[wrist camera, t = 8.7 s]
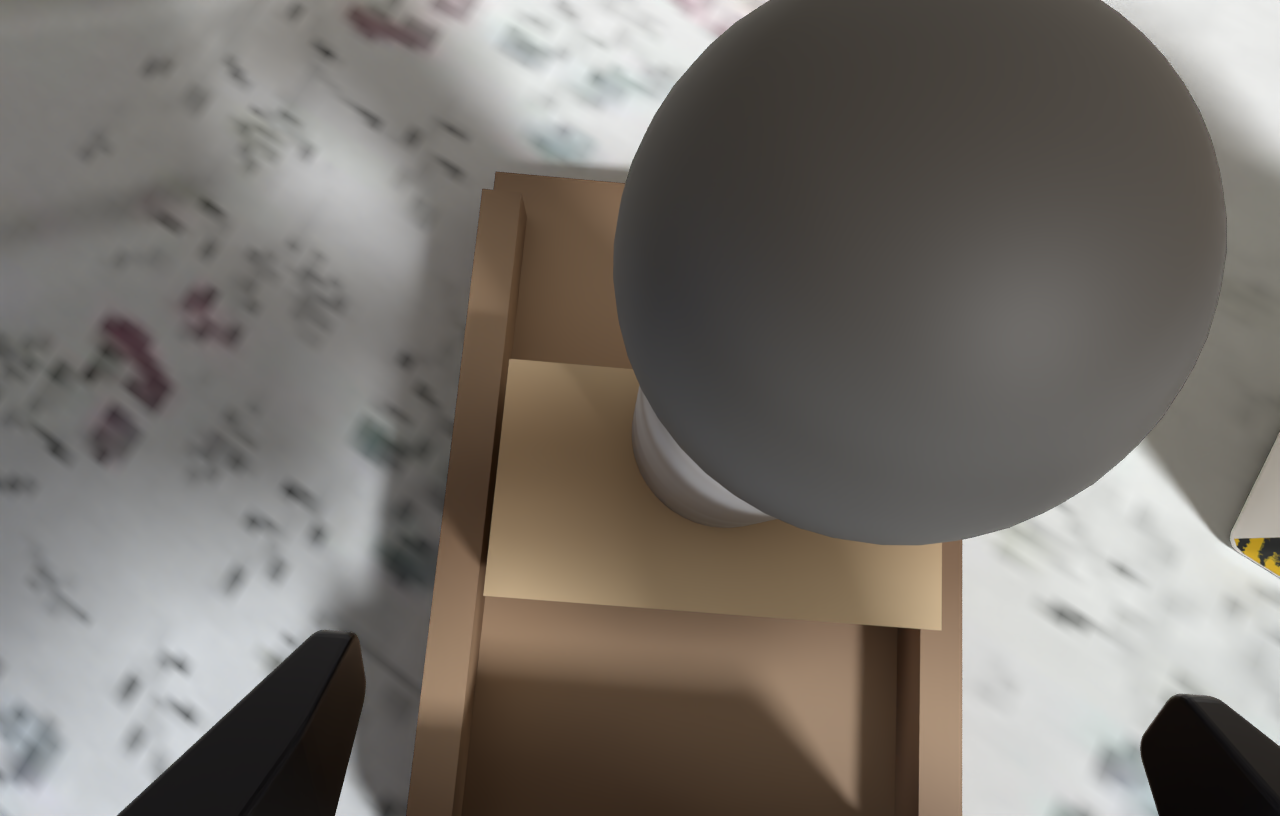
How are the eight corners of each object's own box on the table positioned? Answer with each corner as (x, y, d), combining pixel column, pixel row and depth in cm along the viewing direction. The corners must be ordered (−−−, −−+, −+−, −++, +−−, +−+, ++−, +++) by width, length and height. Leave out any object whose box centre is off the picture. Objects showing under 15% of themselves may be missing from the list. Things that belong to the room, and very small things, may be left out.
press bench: (904, 964, 16) (1050, 1163, 11) (419, 934, 16) (325, 1123, 11) (913, 238, 19) (1032, 115, 14) (504, 201, 19) (464, 61, 14)
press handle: (879, 617, 16) (1915, 845, 3) (505, 588, 16) (108, 716, 3) (884, 377, 17) (1711, -150, 4) (531, 347, 17) (301, -301, 4)
